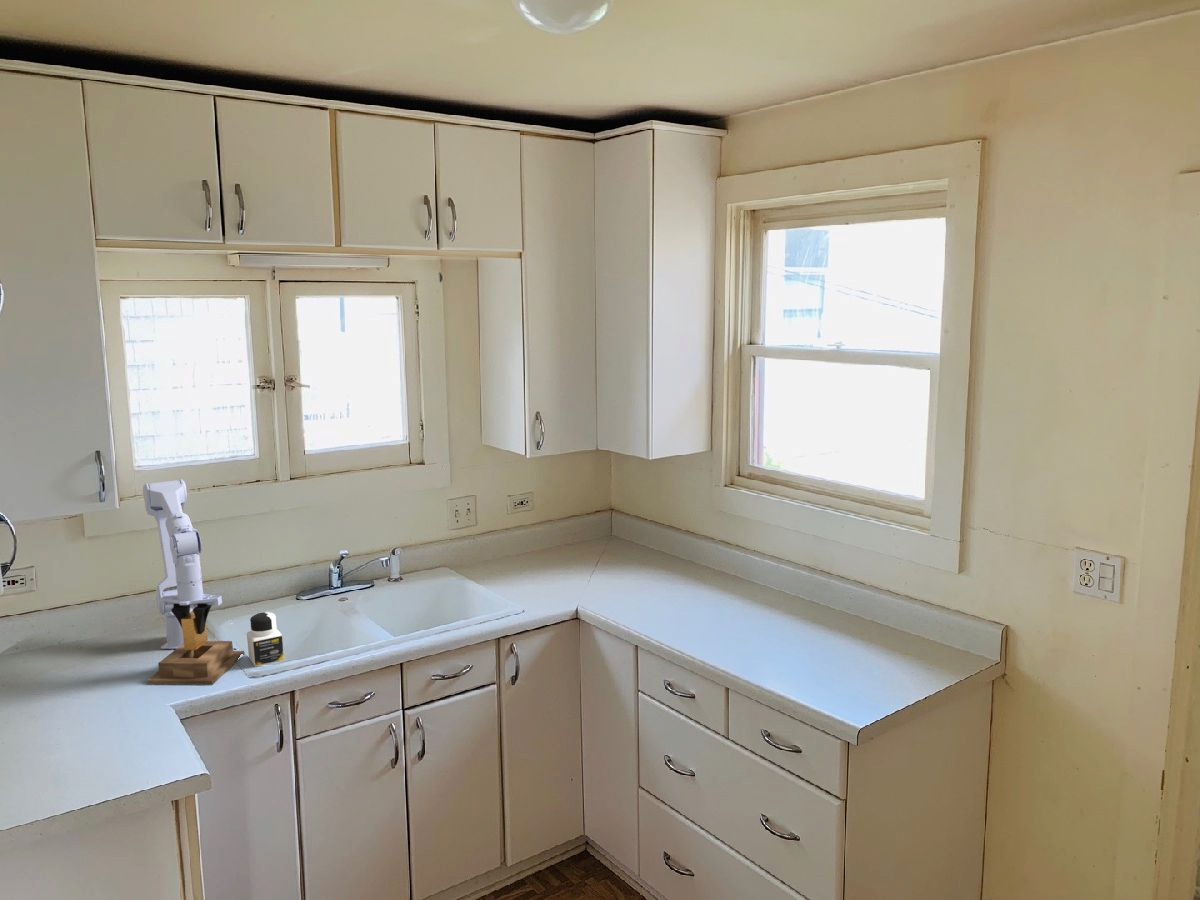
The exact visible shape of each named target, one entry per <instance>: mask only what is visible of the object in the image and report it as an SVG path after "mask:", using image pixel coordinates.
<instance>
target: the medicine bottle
mask: <svg viewBox="0 0 1200 900" xmlns="http://www.w3.org/2000/svg"><path fill="white" fill-rule="evenodd" d="M249 619H250V630H251V631H247V632H246V639H247V649H248V658H249V660H250V661H251V662H252V664H253V665H254V667H256V666H257V667H261V666H266V665H270V664H275V663H278V662H283V661H284V659H285V654H284V641H283V634H282V633H281V632H280V631H279V629H277V618H276V614H275V613H273V612H267V611H264V612H258V613H256V614H254V615H252V616H251V617H250V618H249ZM257 667H256V668H257Z"/></svg>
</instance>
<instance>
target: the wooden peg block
mask: <svg viewBox="0 0 1200 900" xmlns="http://www.w3.org/2000/svg"><path fill="white" fill-rule="evenodd" d="M181 622H182V631H183V640H184V650H197V649H198V648H199V647H200V646H202V645H203V644H204V643H205V642H206V641H209V639H208V628H207V623H206V624H205V631H204V632H203V633H202V634H198V631H197V622H196V618H195V614H194V612H193V611H191V612H190V613H189V614H187V615H186V616H185V617H183V618H182V619H181Z"/></svg>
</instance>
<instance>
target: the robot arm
mask: <svg viewBox="0 0 1200 900" xmlns="http://www.w3.org/2000/svg"><path fill="white" fill-rule="evenodd" d="M186 485H187V484H186V481H184V480H183V479H182V478H179V479H176V480H174V479H173V480H167V481H166V480H165V481H160V482H159V481H158V482H151V483H149V482H145V483H144V484H143V486H142V496H143V500H144V507H145V512H146V513H147V515H149V516H151V517H152V516H153V517H154V518H155V521H156V523H157V529H158V534H159V542H160V548H161V555H162V556H161V557H162V562H163V569H164V574H165V577H164V578H163V579H162V580H161V581H159V583H158V584H156V587H155V597H156V599H155V600H156V606H157V610H158V613H159V614H160V615H164V622H165V631H166V632H165V633H166V640H167V642H165V643H164V644H163V645H161V646H160V649H163V650H176V649H177V648H178V647H179V646H181V645H182V644H183V643H184V640H183V631H182V622H181V619H182V618H183V617H185V616H186V615H187V614H189V613H190V612H191V611H193V612H194V614H195V618H196V622H197V631H198V634H202V633H203V632H204V631H205V624H206V625H207V618H208V615H209V613H210V610H211V608H212V607H213V606H215V607H220V605H222V604H223V600H222V599H223V598H222V595H213V594H208V593H204V589H203V579H202V578H203V576H202V567H201V566H202V565H201V556H200V555H201V553H202V540H201V539H202V538H201V535H200V532H199V531H198V530H197V529H196V528H194V527H193V524H192V522H191V519H190V516H189V515H188V514H187V513H184V512H183V510H184V509H185V507H186V503H187V499H188V492H187V486H186ZM172 587H173V588H172ZM168 588H169V589H168Z"/></svg>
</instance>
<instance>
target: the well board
mask: <svg viewBox="0 0 1200 900" xmlns="http://www.w3.org/2000/svg"><path fill="white" fill-rule="evenodd" d="M233 646H234V645H233V641H232V640H208V641H206V642H205V643H204V644H203V645H202V646H200V647H199V648H198V649H197V650H184V643H183V644H182V645H181V646H179V647H178V648H177V649H173V651H172V652H171V653H169V654H168V655H167V656H165V657H164V658H163V659H161V660H160V661H159V662H158V664H157V665H158V671H156V673H154V674H153V675H152V676H151V677H149V678H148V679H147V680H146V682H147V683H146V684H147V685H207V686H208V685H212V686H213V685H214V684H215V683H216V682H217V681H218V680H220V678H222V676H223V675H225V674H226V673H227V672H228V671H229V670H230V669H231V668H232V667H233V666H234V665H235V664H236V663H237V662H238V661H239V660H238V658H239V657H240V655H241V654H243V655H244V656H245V654H246V653H245V650H234V647H233ZM237 660H238V661H237Z"/></svg>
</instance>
